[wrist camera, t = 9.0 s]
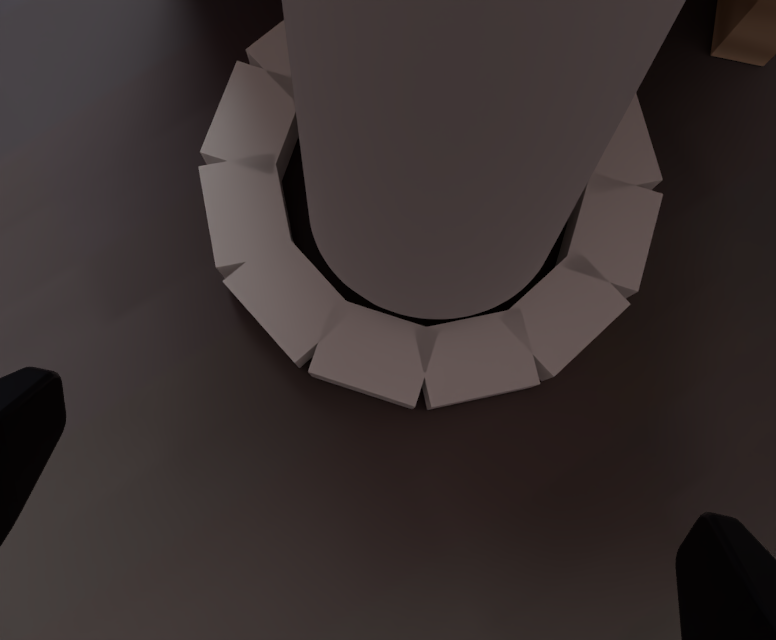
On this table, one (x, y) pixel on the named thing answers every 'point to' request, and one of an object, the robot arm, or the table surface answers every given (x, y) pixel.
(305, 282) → the socket ring
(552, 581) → the table surface
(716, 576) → the robot arm
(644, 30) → the beverage can
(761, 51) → the wooden tray
